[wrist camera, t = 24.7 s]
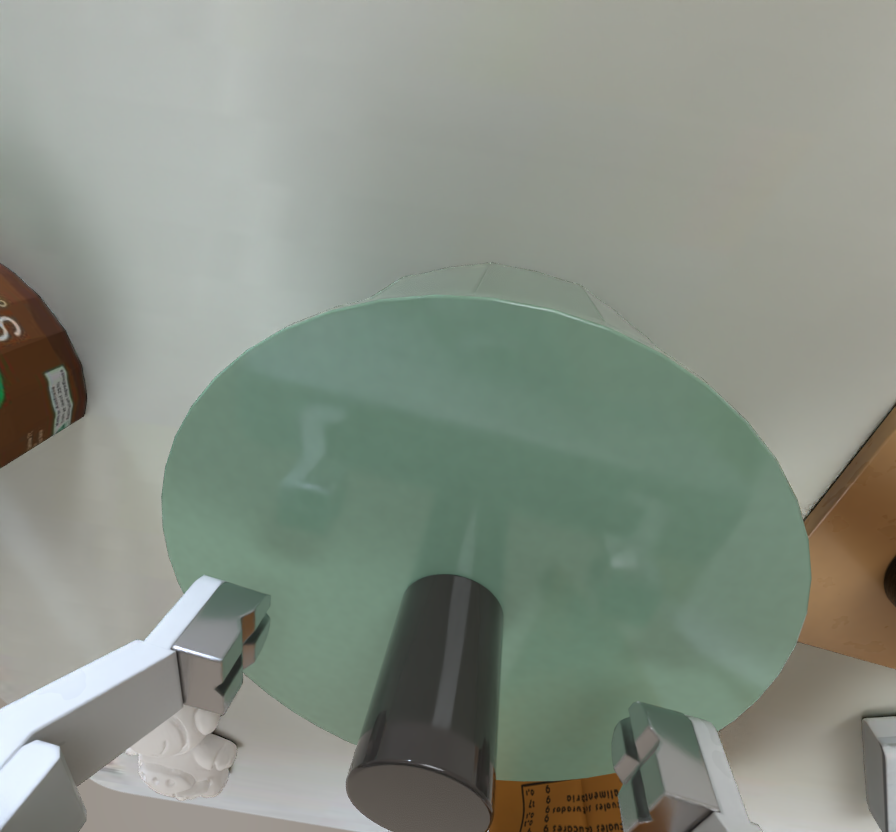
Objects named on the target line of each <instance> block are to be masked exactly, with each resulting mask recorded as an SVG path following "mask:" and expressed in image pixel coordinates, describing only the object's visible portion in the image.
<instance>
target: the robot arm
mask: <svg viewBox="0 0 896 832" xmlns="http://www.w3.org/2000/svg"><path fill="white" fill-rule="evenodd" d="M270 606H271V595H269V594H266V593H262V592H259V591H256V590H252V589H249V588H246V587H242V586H239V585H236V584H232V583H229V582H227V581H224V580H220V579H217V578H213V577H210V576H206V575H203V576H202V577H200V578H199V579H197V580H196V581H195V582H194V583H193V584H192V585H191V587H190V588H189V589H188V590H187V591H186V592H185V594H184V595H183V596H182V597H181V598H180V599H179V600H178V602H177V603H176V604H175V605H174V606H173V607H172V609H171V610H170V611H169V612H168V613H167V614H166V616H165V617H164V618H163V619H162V620H161V621H160V622H159V624H158V625H157V626H156V627H155V628H154V629H153V631H152V632H151V633H150V634H149V635H148V636H147V638H146V639H145V640H144V641H141V640H137V639H136V640H134V641H132V642H130V643H128V644H126V645H124V646H122V647H120V648H119V649H117V650H115V651H113V652H111V653H109V654H107V655H105V656H103V657H101V658H99V659H97V660H95V661H93V662H91V663H89V664H87V665H85V666H83V667H81V668H79V669H77V670H75V671H73V672H71V673H69V674H67V675H65V676H63V677H62V678H60V679H58V680H56V681H54V682H52V683H50V684H48V685H46V686H44V687H42V688H40V689H38V690H36V691H34V692H32V693H30V694H28V695H26V696H24V697H22V698H20V699H18V700H16V701H14V702H12V703H10V704H8V705H6V706H5V707H3V708H1V709H0V832H79V831H80V829H81V828H82V826H83V825H84V823H85V822H86V808H85V806H84V804H83V801H82V799H81V796H80V794H79V792H78V789H77V786H79V785H80V784H81V783H83V782H84V781H85V780H87V779H88V778H89V777H91V776H92V775H93V774H95V773H96V772H97V771H99V770H100V769H101V768H103V767H104V766H105V765H107V764H108V763H110V762H111V761H112V760H114V759H115V758H116V757H118V756H119V755H120V754H122V753H123V752H124V751H126V750H127V749H128V748H130V747H131V746H132V745H134V744H135V743H136V742H138V741H139V740H140V739H142V738H143V737H144V736H146V735H147V734H149V733H150V732H151V731H153V730H154V729H155V728H157V727H158V726H159V725H161V724H162V723H163V722H165V721H166V720H167V719H169V718H170V717H171V716H173V715H174V714H175V713H177V712H178V711H179V710H181V709H182V708H183V704H184V705H187V706H191V707H195V708H198V709H202V710H206V711H210V712H213V713H217V714H221V715H224V714H225V712H226V711H227V709H228V707H229V706H230V704H231V702H232V700H233V699H234V697H235V695H236V694H237V692H238V690H239V689H240V687H241V685H242V683H243V669H245V668H247V667H248V666H250V665H251V664H253V663H255V661H256V659H257V657H258V656H259V654H260V652H261V650H262V648H263V646H264V643H265V641H266V639H267V636H268V633H269V628H270V619H271V618H270V617H269V615H268V614H267V613H266V612H267V611H268V609H269V607H270ZM628 710H629V716H630V717H628V718H625V719H622V720H620V721H619V722H618V724H617V725H616V727H615V728H614V732H613V737H612V742H611V755H612V762H613V769H614V771H615V772H616V774H617V775H618V777H619V779H620V780H621V782H622V783H623V785H622V787H621V789H620V791H619V793H618V801H619V807H620V813H621V820H622V826H623V832H763V830H762V829H761V828H760V827H759V825H758V824H755V823H752V822H750V820H749V817H748V815H747V812H746V809H745V806H744V804H743V801H742V798H741V795H740V793H739V790H738V787H737V785H736V782H735V779H734V776H733V774H732V771H731V768H730V765H729V763H728V760H727V757H726V754H725V752H724V749H723V746H722V744H721V741H720V738H719V735H718V733H717V730H716V728H715V727H714V726H713V724H712V723H711V722H709V721H707V720H704V719H700V718H697V717H693V716H689V715H685V714H683V713H681V712H677V711H674V710H670V709H666V708H663V707H659V706H655V705H651V704H648V703H644V702H640V701H637V702H633V703H632V705H631V706H630V707H629V708H628Z"/></svg>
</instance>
